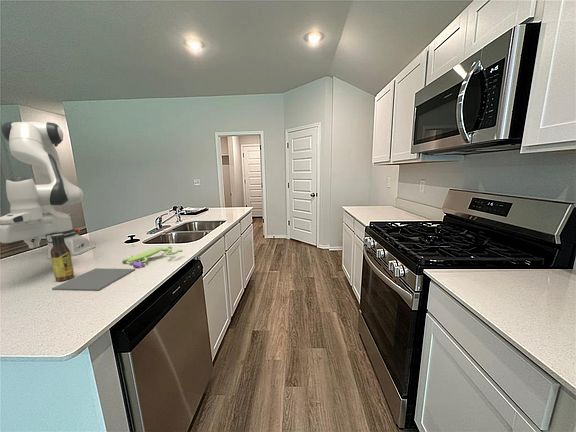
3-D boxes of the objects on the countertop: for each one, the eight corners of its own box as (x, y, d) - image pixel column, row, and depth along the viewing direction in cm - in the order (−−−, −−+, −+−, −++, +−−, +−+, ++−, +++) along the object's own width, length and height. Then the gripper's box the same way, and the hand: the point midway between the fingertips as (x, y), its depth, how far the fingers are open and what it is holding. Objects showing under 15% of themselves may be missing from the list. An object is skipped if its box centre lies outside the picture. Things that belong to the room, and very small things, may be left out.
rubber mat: (95, 269, 115) (95, 268, 115) (135, 270, 113) (135, 268, 113) (52, 289, 95) (51, 288, 95) (98, 290, 94) (98, 289, 94)
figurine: (185, 259, 127) (184, 249, 126) (124, 272, 111) (122, 261, 110) (176, 250, 142) (175, 241, 141) (121, 261, 126) (120, 251, 125)
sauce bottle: (69, 280, 103) (60, 235, 100) (51, 282, 102) (42, 237, 98) (78, 274, 110) (69, 232, 106) (61, 276, 108) (52, 233, 104)
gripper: (47, 212, 112) (53, 241, 114) (-11, 220, 92) (-2, 255, 94) (59, 211, 111) (65, 240, 114) (4, 220, 91) (12, 255, 94)
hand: (34, 247), depth 104 cm, fingers closed
